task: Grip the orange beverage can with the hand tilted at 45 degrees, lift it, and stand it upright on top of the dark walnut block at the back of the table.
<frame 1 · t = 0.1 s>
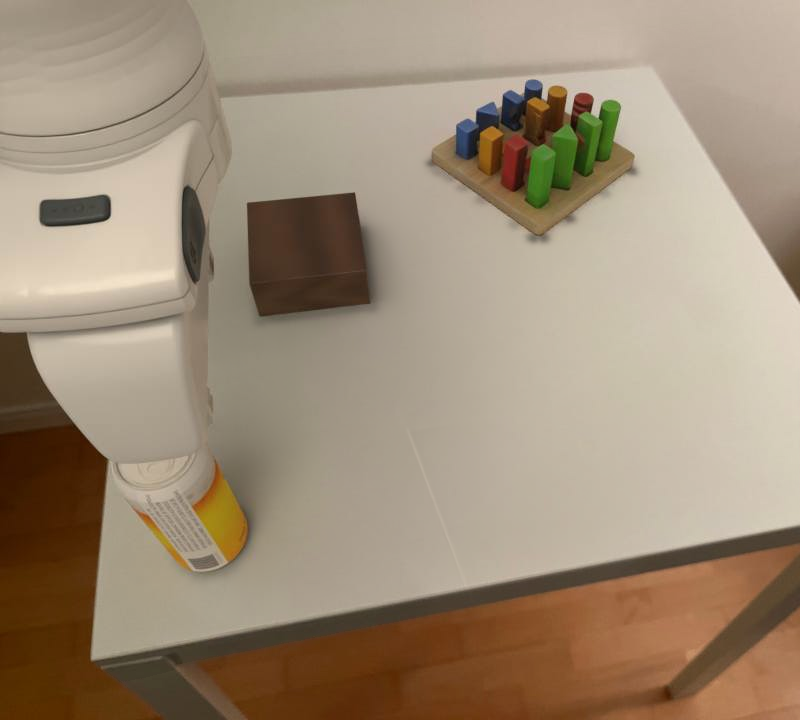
hand: (198, 340, 39), 26 cm above the table, tool pointing down, fingers open, 8 cm apart
orange beverage can: (211, 539, 60), on the table
peg board: (532, 164, 88), on the table
walnut block: (311, 269, 77), on the table
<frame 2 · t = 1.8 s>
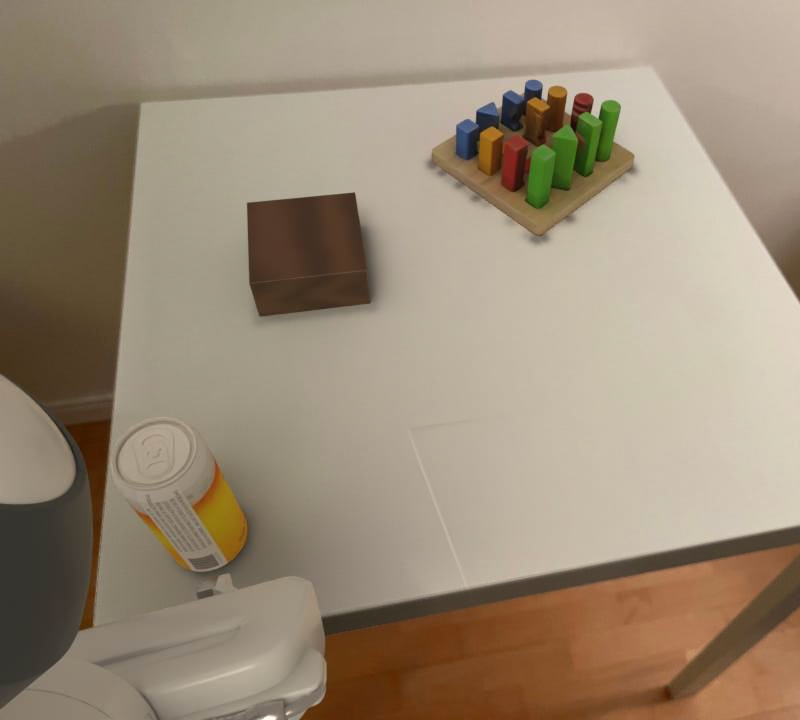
hand: (126, 613, 38), 19 cm above the table, tool tilted 45°, fingers open, 8 cm apart
nothing on the table moved.
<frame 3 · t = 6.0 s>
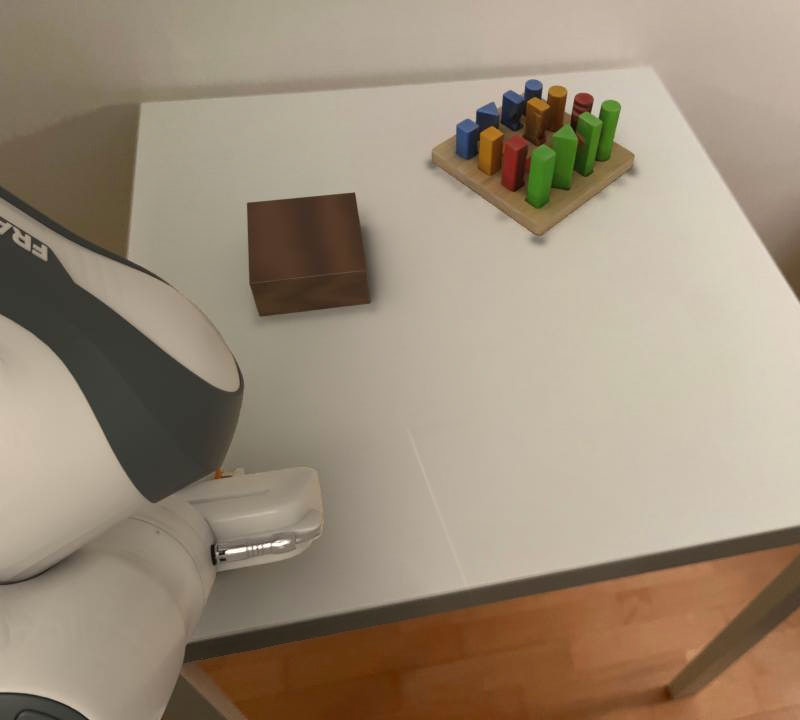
hand: (182, 486, 53), 8 cm above the table, tool tilted 45°, fingers closed on orange beverage can, 6 cm apart
orange beverage can: (211, 539, 60), on the table, touching gripper
everything else where it was.
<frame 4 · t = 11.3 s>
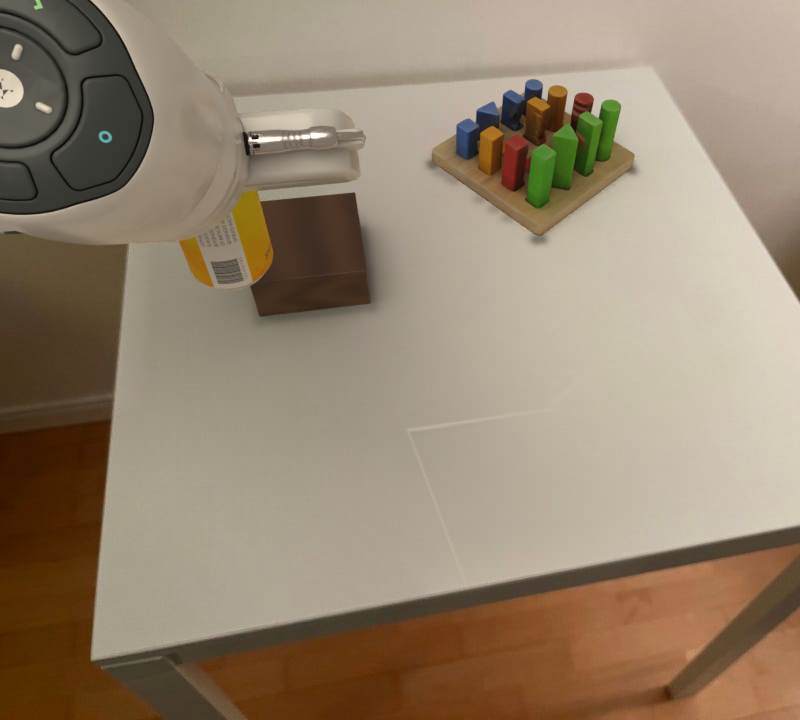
hand: (205, 172, 49), 24 cm above the table, tool tilted 45°, fingers closed on orange beverage can, 6 cm apart
orange beverage can: (234, 267, 56), point 16 cm above the table, touching gripper
everything else where it was.
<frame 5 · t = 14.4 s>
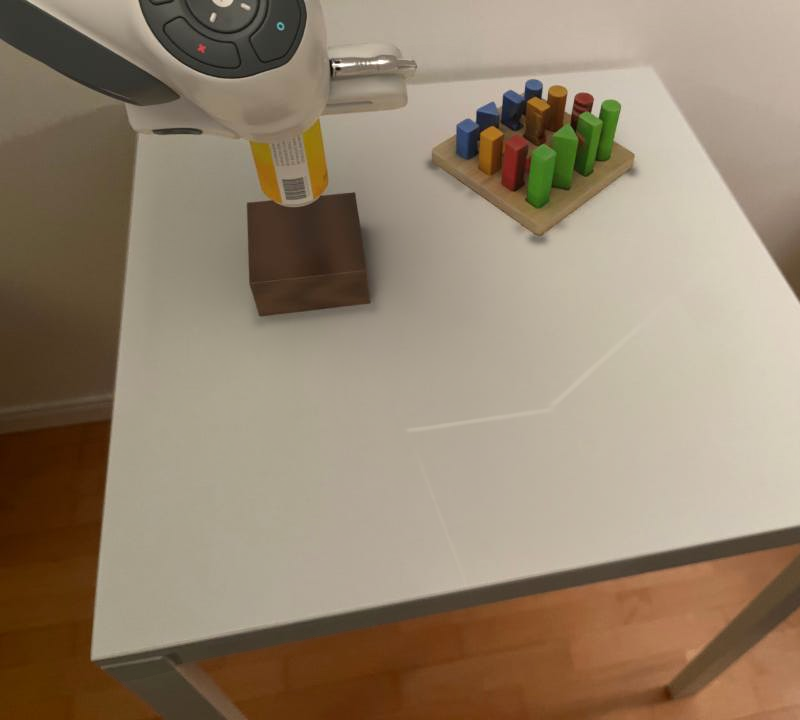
hand: (279, 106, 61), 20 cm above the table, tool tilted 45°, fingers closed on orange beverage can, 6 cm apart
orange beverage can: (296, 189, 68), point 11 cm above the table, touching gripper
everything else where it was.
when the fingers open (13 cm above the table, at t = 16.7 s): orange beverage can stays where it is, resting on walnut block.
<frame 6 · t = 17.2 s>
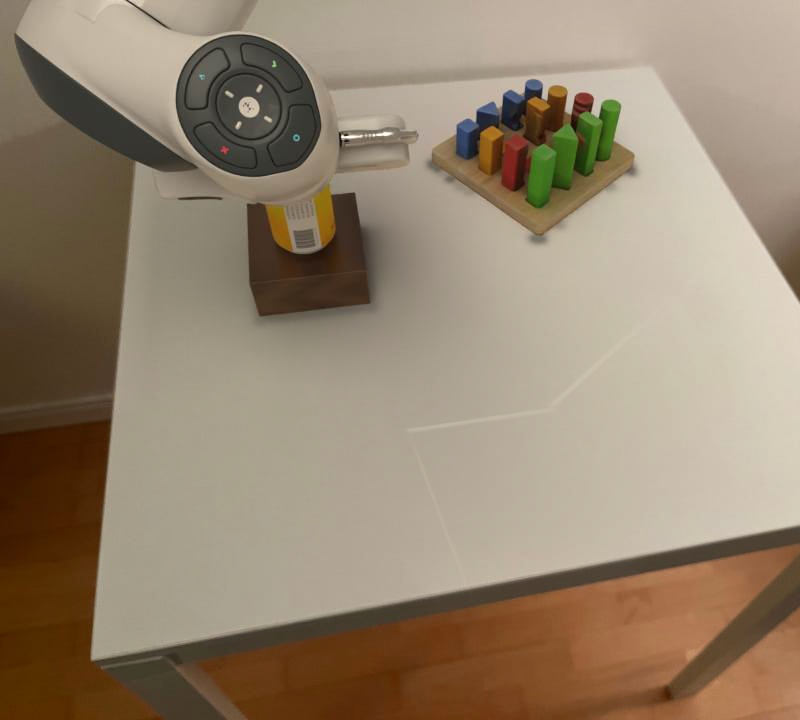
hand: (290, 161, 66), 14 cm above the table, tool tilted 45°, fingers open, 8 cm apart
orange beverage can: (305, 237, 73), point 5 cm above the table, touching walnut block
everything else where it was.
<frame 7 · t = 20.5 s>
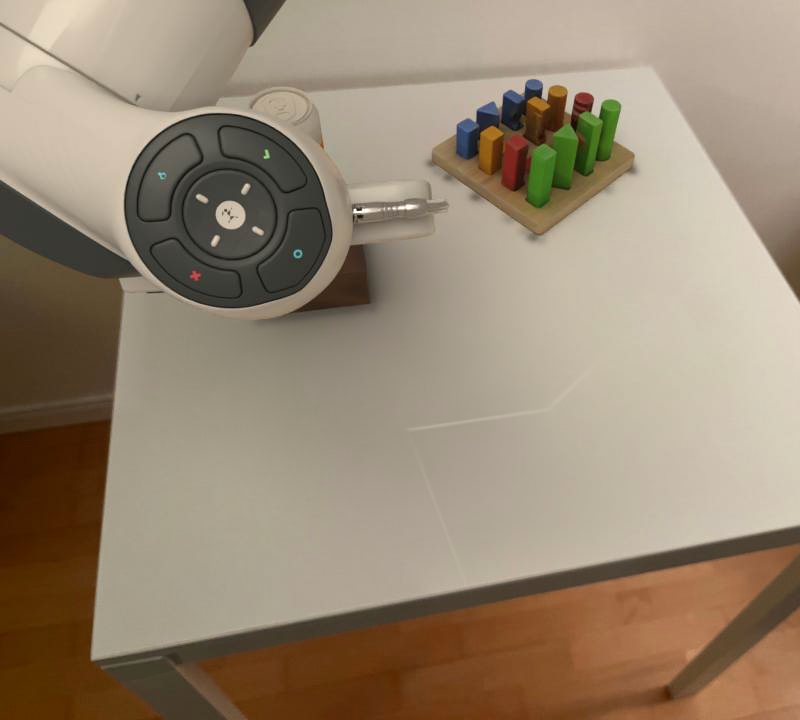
hand: (289, 223, 55), 19 cm above the table, tool tilted 45°, fingers open, 8 cm apart
nothing on the table moved.
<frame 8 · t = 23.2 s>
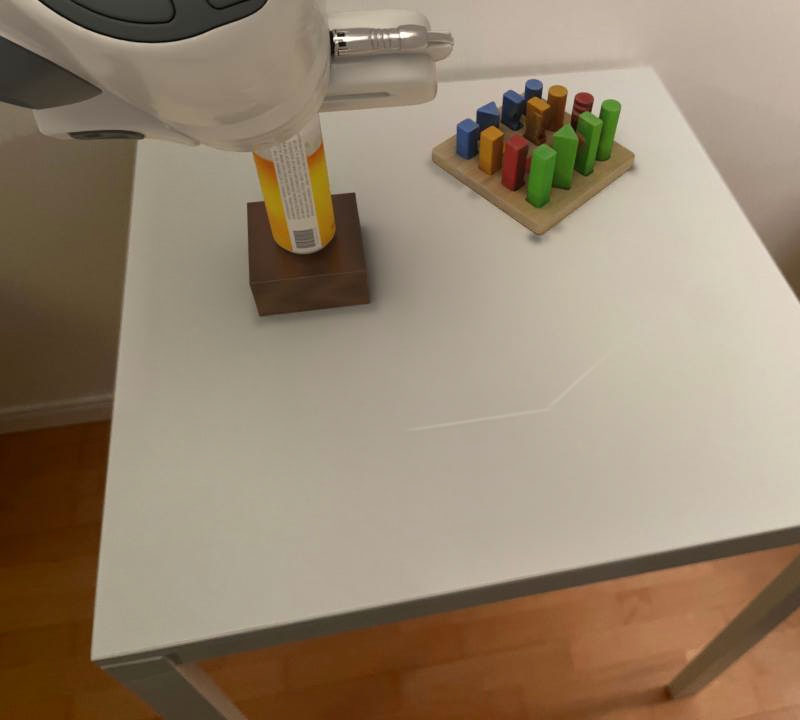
hand: (263, 100, 46), 29 cm above the table, tool tilted 45°, fingers open, 8 cm apart
nothing on the table moved.
at the end: orange beverage can inside the target area on the walnut block (0.1 cm from its centre), point 4.8 cm above the walnut block's base; orange beverage can tilted 0°; the gripper is holding nothing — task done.
